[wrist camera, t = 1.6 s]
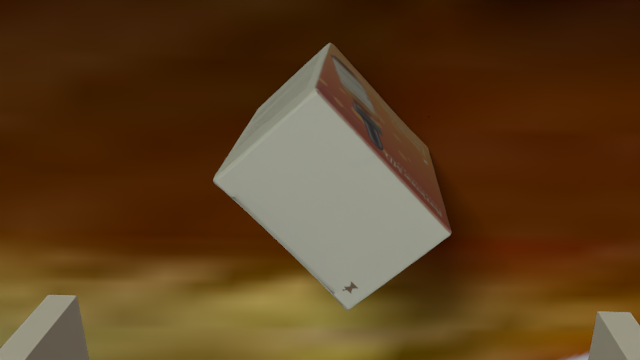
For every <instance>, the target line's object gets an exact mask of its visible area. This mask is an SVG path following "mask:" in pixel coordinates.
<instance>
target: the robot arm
mask: <svg viewBox="0 0 640 360" xmlns="http://www.w3.org/2000/svg"><path fill="white" fill-rule="evenodd" d="M0 360H89V356H88V351H87V346H86V340H85V335H84V330H83V325H82V320H81V315H80V310H79V304H78V299H77V296H71V295H48V296H47V297H46V298H45V299H44V300H43V301H42V303H41V304H40V305H39V306H38V307H37V308H36V309H35V310H34V311H33V313H32V314H31V315H30V316H29V317H28V318H27V319H26V320H25V322H24V323H23V324H22V325H21V326H20V327H19V328H18V329H17V330H16V332H15V333H14V334H13V335H12V336H11V337H10V338H9V339H8V341H7V342H6V343H5V344H4V345H3V346H2V347H1V348H0ZM588 360H640V326H639V324H638V323H637V322H636V320H635V319H634V317H633V316H632V315H631V313H630V312H599V311H598V312H597V317H596V322H595V327H594V333H593V338H592V343H591V348H590V353H589V359H588Z"/></svg>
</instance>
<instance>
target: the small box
mask: <svg viewBox="0 0 640 360" xmlns="http://www.w3.org/2000/svg"><path fill="white" fill-rule="evenodd" d="M213 182H214V183H215V184H216V185H217V186H218V187H219V188H221V189H222V190H223V191H224V192H225V193H226V194H228V195H229V196H230V197H231V198H232V199H233V200H235V201H236V202H237V203H238V204H239V205H240V206H241V207H242V208H243V209H244V210H245V211H247V212H248V213H249V214H250V215H251V216H252V217H253V218H254V219H255V220H256V221H257V222H258V223H259V224H260V225H261V226H262V227H264V228H265V229H266V230H267V231H268V232H269V233H270V234H271V235H272V236H273V237H274V238H275V239H276V240H277V241H278V242H279V243H280V244H281V245H282V246H283V247H284V248H285V249H286V250H288V251H289V252H290V253H291V254H292V255H293V256H294V257H295V258H296V259H297V260H298V261H299V262H300V263H301V264H302V265H303V266H304V267H305V268H306V269H307V270H308V271H309V272H310V273H311V274H312V275H313V276H314V277H315V278H316V279H317V280H318V281H319V282H320V283H321V284H322V285H323V286H324V287H325V288H326V289H327V290H328V291H329V292H330V293H331V294H332V295H333V297H334V298H335V299H336V300H337V301H338V302H339V303H340V304H341V305H342V306H343V307H344V308H345V309H346V310H350V309H351V308H352V307H354V306H355V305H356V304H358V303H359V302H360V301H362V300H363V299H365V298H366V297H367V296H369V295H370V294H371V293H373V292H374V291H376V290H377V289H378V288H380V287H381V286H382V285H384V284H385V283H386V282H388V281H389V280H391V279H392V278H393V277H395V276H396V275H397V274H399V273H400V272H401V271H403V270H404V269H405V268H407V267H408V266H410V265H411V264H412V263H414V262H415V261H416V260H418V259H419V258H420V257H422V256H423V255H425V254H426V253H427V252H429V251H430V250H431V249H433V248H434V247H435V246H437V245H438V244H439V243H440V242H442V241H443V240H444V239H446V238H447V237H449V236H450V235H451V228H450V225H449V221H448V218H447V215H446V211H445V207H444V203H443V200H442V196H441V193H440V189H439V185H438V182H437V178H436V175H435V171H434V167H433V164H432V160H431V157H430V154H429V150H428V148H427V146H426V145H425V144H424V143H423V142H422V141H421V140H420V139H419V138H418V137H417V136H416V135H415V134H414V133H413V132H412V131H411V130H410V129H409V128H408V127H407V126H406V124H405V123H404V122H403V121H402V120H401V119H400V118H399V117H398V116H397V115H396V114H395V113H394V112H393V110H392V109H391V108H390V107H389V106H388V105H387V104H386V103H385V101H384V100H383V99H382V98H381V97H380V96H379V95H378V94H377V92H376V91H375V90H374V89H373V88H372V87H371V86H370V84H369V83H368V82H367V81H366V80H365V79H364V78H363V77H362V76H361V74H360V73H359V72H358V71H357V70H356V69H355V68H354V67H353V66H352V65H351V63H350V62H349V61H348V60H347V59H346V58H345V57H344V56H343V54H342V53H341V52H340V51H339V50H338V49H337V48H336V47H335V46H334V45H333V44H332V43H329V44H328V45H326V46H325V47H324V48H323V49H322V50H321V51H320V52H319V53H317V54H316V55H315V56H314V57H313V58H312V59H311V60H310V61H309V62H308V63H307V64H305V65H304V66H303V67H302V68H301V69H300V70H299V71H298V72H297V73H296V74H295V75H294V76H292V77H291V78H290V79H289V80H288V81H287V82H286V83H285V84H284V85H283V86H282V87H281V88H280V89H279V90H277V91H276V92H275V93H274V94H273V95H272V96H271V97H270V98H269V99H268V100H267V101H266V102H265V103H264V104H263V105H262V106H261V107H259V109H258V110H257V112H256V113H255V115H254V116H253V118H252V119H251V121H250V122H249V124H248V125H247V127H246V128H245V130H244V131H243V133H242V134H241V136H240V138H239V139H238V141H237V142H236V144H235V145H234V147H233V149H232V150H231V152H230V153H229V155H228V156H227V158H226V160H225V161H224V163H223V164H222V166H221V167H220V169H219V170H218V172H217V173H216V175H215V176H214V179H213Z"/></svg>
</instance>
